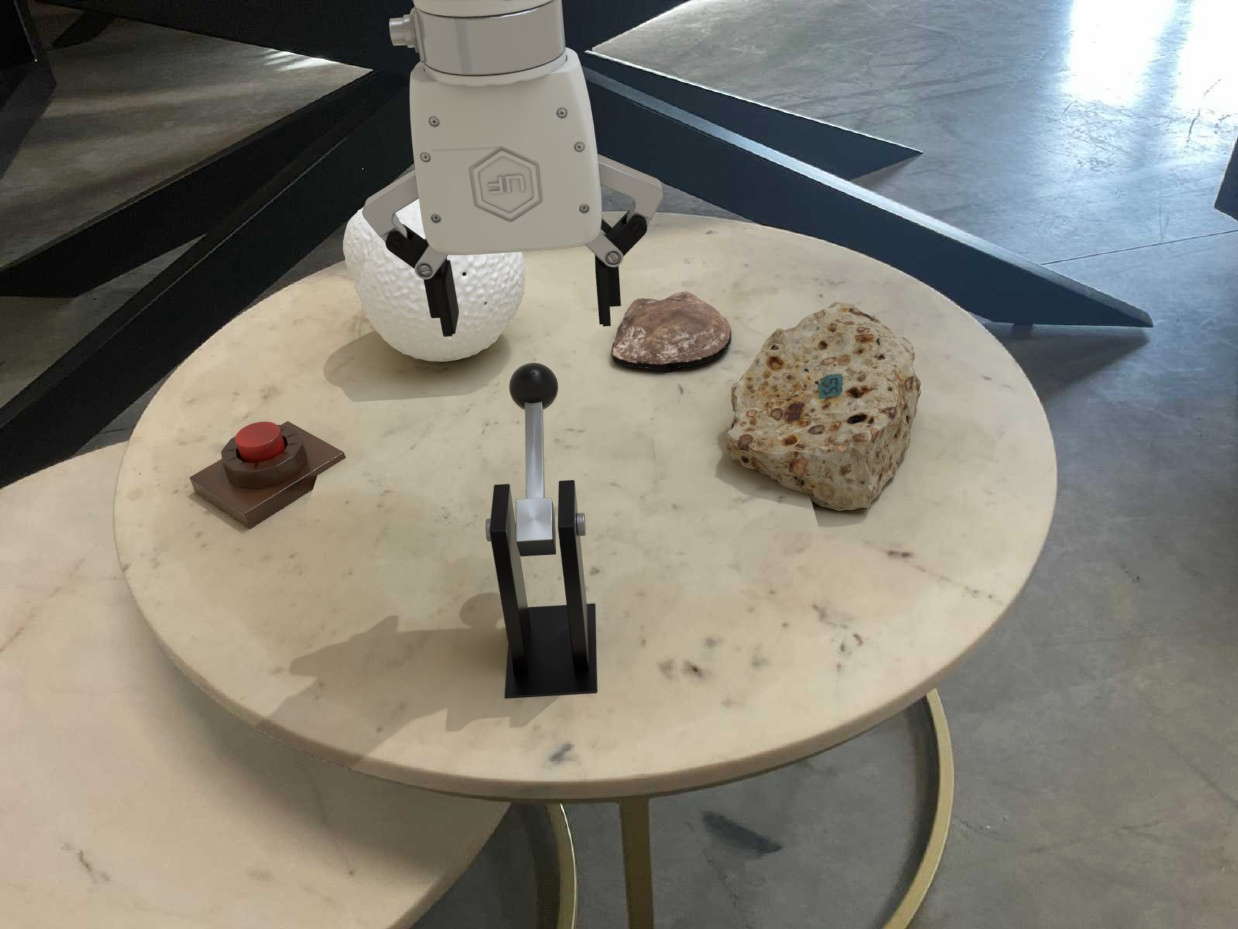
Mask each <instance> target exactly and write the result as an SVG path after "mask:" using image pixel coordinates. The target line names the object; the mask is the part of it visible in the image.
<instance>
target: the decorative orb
mask: <svg viewBox="0 0 1238 929" xmlns="http://www.w3.org/2000/svg"><path fill="white" fill-rule="evenodd" d="M362 170H364V168H362ZM355 182H356V181H355ZM363 208H364V206H362V208H360V209H358V210H357V212H356V213H355V214H353V216H351V218H350V219H349V220H348V222H347V224H346V227H345V229H344V230H345V231H344V235H343V240H342V245H343V246H342V251H343V256H344V258H345V260H344V263H345V265H346V268H347V270H348V272H349V273H350V275H351V278H352V279H353V281H354V283H353V287H354V289H355V292H356V294H357V296H358V298H359V301H360V304H361V307H362V309H363V312H364V314H365V315H366V317H367V320H368V322H370V324H371V325H372V327H373V328H374V330H375V331H376V332H377V334H378V335H380V336H381V338H382V340H383V341H385V342H387V344H388V345H389V346H390V347H391V348H393V349H395V350H396V351H398V352H400V353H401V354H402V355H407V356H409V357H412V358H414V359H416V360H419V359H420V360H423V361H425V362H438V363H442V362H453V361H458V360H461V359H466V358H470V357H471V356H476V355H477V354H479V353H480V352H481V351H482V350H487V349H489V347H491V346H492V344H494V343H496V342H497V341H498V339H499V337H500V336H501V335H502V334H503V333H504V332H505V331H506V330H507V328H508V327H509V325H510V324H511V323H512V321H513V320H514V319H515V316H516V314H517V312H518V310H519V307H521V303H522V300H523V297H524V294H525V288H526V274H527V271H526V263H525V260H524V254H523V253H524V252H513V253H497V254H481V255H448V256H447V260H450V261H451V267H452V273H453V279H454V284H455V290H456V296H457V302H458V308H459V316H458V321H457V327H456V333H455V334H453V335H452V336H451V337H443V333H442V328H441V322H440V318H431V316H430V311H429V306H428V301H427V296H426V291H425V285H424V280H423V279H421V278H419V277H418V276H417V275H416V273H415V269H414V268H412V267H411V266H410V265H408V264H407V263H405V262H404V261H403V260H401V259H400V258H398V257H397V256H396V255H394V254H393V253H391V252H390V251H389V250H388V249H387V247H386V244H385V242H384V240H383V239H382V238H381V237H379V236H378V234H377V233H376V232H375V231H374V230H373V228H372V227H371V226H370V225H369V223H368V222H367V221H366V220H365V218H364V217H363V215H362V210H363ZM396 215H397V217H398V218H399V221H400V222H401V223H402V224H404V225H406V226H407V227H408V228H410V229H411V230H412V231H414V232H415V233H417V234H418V235H419V236H421V237H422V238H423V239H425V238H426V237H425V233H424V229H423V224H422V218H421V211H420V204H419V199H417V200H416V201H414V202H413V203H411V204H409V205H408V206H406V207H404V208H403V209H401V210H399V211H398V212H396ZM310 254H311V252H310Z"/></svg>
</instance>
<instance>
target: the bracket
mask: <svg viewBox="0 0 1238 929" xmlns="http://www.w3.org/2000/svg"><path fill="white" fill-rule="evenodd" d="M557 488H558V490H557V491H558V492H557V494H558V495H557V497H558V498H557V533H558V534H557V535H558V542H559V550H560V559H561V560H560V561H561V568H562V569H561V570H562V577H563V578H562V579H563V586H564V594H565V602H566V604H558V605H542V606H528V599H527V591H526V586H525V584H526V583H525V578H524V572H523V565H522V559H521V556H520V553H519V550H518V547H517V543H516V515H515V511H514V504H513V496H512V489H511V485H510V483H500V484H499V483H497V484H493V490H492V499H491V510H490V518H485V524H484V526H485V527H484V528H485V530H484V532H485V538H486V541H487V542H490V544H491V550H492V556H493V562H494V568H495V574H496V580H497V585H498V592H499V597H500V598H499V599H500V603H501V610H502V615H503V622H504V627H505V633H506V639H507V653H506V668H505V683H504V699H507V700H508V699H522V698H523V699H524V698H525V699H526V698H539V697H541V698H542V697H555V696H556V697H557V696H558V697H559V696H575V695H590V694H591V695H592V694H597V693H598V658H597V655H598V654H597V613H596V612H597V609H596V607H597V606H596V603H595V602H593V603H592V602H590V603H587V593H586V581H585V573H584V572H585V571H584V561H583V551H582V542H581V541H582V540H581V537H586V535H587V527H586V526H587V525H586V514H585V512H579V510H578V500H577V489H576V480H574V479H565V480H563V479H562V480H559V481H558V487H557Z"/></svg>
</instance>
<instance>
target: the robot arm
mask: <svg viewBox="0 0 1238 929" xmlns="http://www.w3.org/2000/svg"><path fill="white" fill-rule="evenodd" d="M412 2H413V5H414V6H413V8H411V10H410V13H409V14H403V16H402V17H395V18H394V17H393V18H392V17H391V18H389V21H388V24H389V25H388V28H389V37H390V41H391V43H392V45H393V46H396V47H398V46H407V49H408V48H409V49H411V48H414V51H415V53H416V54H417V53H418V54H419V60H420V61H419V62H417V63H416V64H415V66H414V68H413V69H412V70H411V72H410V76H409V119H410V132H411V144H412V155H413V165H414V169H413V170H411V171H409V172H408V173H406V174H405V175H403V176H401V177H400V178H398V179H396V180H395V181H393V182H392V183H390V184H389V185H386V186H385V187H383V188H382V189H380V190H379V191H377V192H376V193H374V194H372V195H371V196H369V197H368V198H367V199H366V200H365V202H364V205H363V207H364V208H363V207H362V208H363V210H362V215H363V217H364V218H365V220H366V221H367V222H368V223H369V225H370V226H371V227H372V228H373V230H374V231H375V232H376V233H377V234H378V236H379V237H381V238H382V239H383V240H384V242H385V244H386V247H387V249H388V250H389V251H390V252H391V253H393V254H394V255H396V256H397V257H398V258H400V259H401V260H403V261H404V262H405V263H407V264H408V265H410V266H411V267H412V268H414V269H415V273H416V275H417V276H418V277H419V278H421V279H423V280H424V285H425V291H426V296H427V301H428V306H429V311H430V316H431V318H440V322H441V328H442V333H443V337H451V336H452V335H453V334H455V333H456V327H457V321H458V316H459V308H458V302H457V296H456V290H455V284H454V279H453V273H452V267H451V261H450V260H447V256H448V255H481V254H497V253H513V252H522V253H526V252H527V253H529V252H540V251H541V252H543V251H553V250H554V251H555V250H565V249H566V250H567V249H574V248H578V247H579V248H580V247H583V246H585V247H586V248H587V249H588V250H589V251H591V252H592V253H593V254H594V271H595V272H594V273H595V284H596V285H595V286H596V297H597V298H596V299H597V311H598V323H599V325H602V327H603V328H605V327H611V326H612V318H611V308H614V307H616V308H617V307H622V299H621V298H622V297H621V283H620V282H621V280H620V265H621V264H623V262H624V257H625V256H626V255H627V254H628V253H629V252H630V251H631V250H632V249H633V248H634V246H635V245H637V243H638V242H639V241H641V239H643V237H644V236H645V235H646V234H647V232H648V227H649V225H650V223H651V221H652V220H653V218H654V216H655V214H656V213H657V210H658V209H659V206H660V205H661V203H662V200H663V197H664V191H663V185H662V181H661V180H659V179H658V178H656V177H654V176H651V175H650V174H647V173H644V172H641V171H639V170H637V169H634V168H632V167H630V166H627V165H626V164H623V163H621V162H618V161H616V160H613V159H612V158H608V157H607V156H604V155H601V154H600V153H598V147H597V141H596V140H597V139H596V133H595V124H594V119H593V113H592V106H591V100H590V95H589V91H588V87H587V83H586V78H585V74H584V71H583V67H582V65H581V61H580V59H579V55H578V53H577V52H576V51H575V50H573V49H571V48H569V47H567V46H566V39H565V25H564V15H563V14H564V13H563V2H562V0H412ZM602 187H604V188H607V189H609V190H611V191H614V192H615V193H618V194H620V195H623V196H626V197H628V198H630V199H632V203H631V206H630V208H629V210H627V211H626V212H625V213H624V215H623V216H622V217H621V218H620V219H619V220H618V221H617V222H616V223H615V224H614V225H613V224H612V223H611V221H609V220H608V219H607V218H606V217H605V216H604V215H603V205H602V204H603V202H602ZM417 199H419V204H420V211H421V218H422V224H423V229H424V233H425V237H426V238H425V239H423V238H422V237H421V236H419V235H418V234H417V233H415V232H414V231H412V230H411V229H410V228H408V227H407V226H406V225H404V224H402V223H401V222H400V221H399V218H398V217H397V215H396V212H398V211H399V210H401V209H403V208H404V207H406V206H408V205H409V204H411V203H413V202H414V201H416V200H417Z"/></svg>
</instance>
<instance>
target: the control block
mask: <svg viewBox="0 0 1238 929" xmlns="http://www.w3.org/2000/svg"><path fill="white" fill-rule="evenodd" d="M277 425H278V426H279V428H280V431H281V434H282V438H283V441H284V444H285V449H284V451H283V453H281V454H280V455H278V456H276V457H275V458H273V459H271V460H267V461H263V462H259V463H249V462H245V461H243V460H242V458H241V456H240V453H239V450H238V447H237V444H236V441H235V436H233V437H232V438H230V439H229V440H228V442H227V443H226V444H225V445H224V446H223V448H222V449H221V451H220V457H221V458H220V459H218V460H217V461H215V462H213V463H211V464H210V465H208V466H206V467H204V468H203V469H201V470H198V472H196V473H194V474H192V475H190V476H189V480H190V483H191V486H192V488H193V491H194V493H195V494H197V495H198V496H200V497H201V498H202V499H204V500H206V501H207V502H208V503H210V504H212V505H213V506H215V507H216V508H218V509H219V510H221V511H222V512H223V513H225V514H226V515H228V516H230V517H231V518H232V519H233V520H235V521H237V522H238V523H240V524H241V525H243V526H244V527H246V528H247V529H249V530H251V529H253V528H255V527H256V526H257V525H259V524H261V523H263V522H264V521H266V520H267V519H269V518H270V517H272V516H274V515H275V514H277V513H279V512H280V511H282V510H284V508H286V507H288V506H289V505H291V504H293V503H294V502H296V501H297V500H299V499H300V498H302V497H304V496H305V495H307V494H309V493H310V492H312V491H313V490H314V487H315V485H316V483H317V482H316V481H317V478H318V476H320V475H322V473H324V472H325V471H327V470H329V469H330V468H332V467H334V466H335V465H337V464H338V463H340V462H341V461H343V460H345V459H346V454H345V451H343V450H341V449H339V448H338V447H336V446H334V445H332V444H331V443H329V442H327V441H325V440H323V439H322V438H320V437H317V436H316V435H314V434H312V433H311V432H309V431H307V430H305V429H303V428H302V427H300V426H298V425H296V424H294V423H293V422H290V421H289V420H286V421H284V422H283V423H282V424H277Z"/></svg>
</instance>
